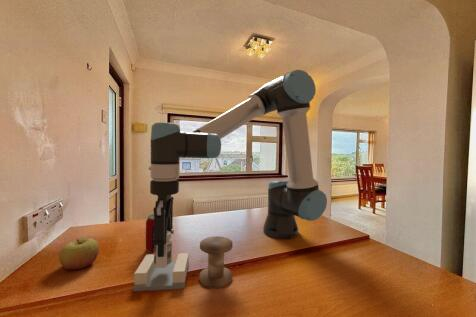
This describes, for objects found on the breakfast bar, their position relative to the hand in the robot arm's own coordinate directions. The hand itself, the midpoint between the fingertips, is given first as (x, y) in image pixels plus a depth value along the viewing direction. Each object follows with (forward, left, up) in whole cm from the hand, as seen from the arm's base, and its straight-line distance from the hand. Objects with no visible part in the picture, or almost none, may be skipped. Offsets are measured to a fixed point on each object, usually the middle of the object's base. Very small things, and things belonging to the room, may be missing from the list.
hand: (163, 261), depth 60 cm
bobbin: (-15, +2, -4) cm, 15 cm away
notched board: (0, 0, -4) cm, 4 cm away
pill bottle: (0, 0, -1) cm, 1 cm away
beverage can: (+6, -17, -5) cm, 19 cm away
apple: (+26, -8, -5) cm, 28 cm away
